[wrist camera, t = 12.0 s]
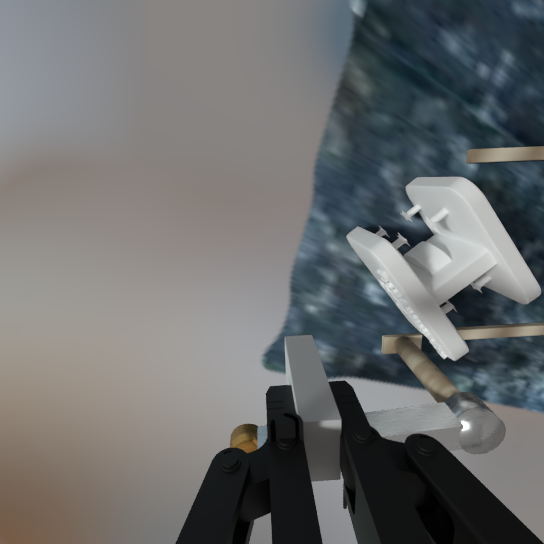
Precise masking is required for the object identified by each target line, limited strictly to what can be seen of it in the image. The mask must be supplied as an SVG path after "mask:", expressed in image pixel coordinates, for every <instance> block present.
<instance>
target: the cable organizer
mask: <svg viewBox="0 0 544 544" xmlns="http://www.w3.org/2000/svg"><path fill="white" fill-rule="evenodd" d="M406 192H407V195H408V197H409V199H410V200H411V202H412V203H413V205H414V207H413V208H411V209H410V210H409V211H407V212H406V213H405V212H404V211H403V210H402V212H403V213H401V214H402V215H403V216H404V217H405V218H406V220H410V221H412V220H411V219H410V217H411V216H413V215H414V214H415V213H416V212H419V214H420V215H421V216H422V218H423V219H424V220H423V221H424V222H425V223H426V224H427V226H428V227H429V228H430V230H431V231H432V233H433V234H434V235H433V236H432V237H431V238H429V239H428V240H427V241H425V242H424V241H422V242H420V243H419V244H418V245H416V246H415V247H414V248H412V249H411V250H410V251H408V252H407V253H406V254H404V257H403V256H402V255H401V253H400V252H399V251H398V250H397V249H398V248H399V247H400V246H401V245H403V244H405V243H406V244H407V245H409V244H408V243H407V239H405V238H403V237H402V236H401V235H400V234H399V233H398V234H399V236H397V235H396V236H397V237H399V238H398V239H397V240H396V241H395V242H393V243H392V244H391V243H390V242H389V241H387V240H386V239H384V238H382V236H383V235H384V236H385V235H387V233H386V231H385V230H383V229H382V228H381V227H380V226H379V227H380V228H378V229H380V230H379V231H378V232H377V233H376V234H374V233H371V232H369V231H367V230H365V229H363V228H361V227H356V228H355V229H354V230H353V231H351V232H350V233H349V234H348V235H347V239H348V241H349V243H350V245H351V246H352V248H353V249H354V251H355V252H356V253H357V254H358V256H359V257H360V258H361V260H362V261H363V262H364V264H365V265H366V266H367V267H368V269H369V270H370V271H371V273H372V274H373V275H374V277H375V278H376V279H377V280H378V282H379V283H380V284H381V286H382V287H383V288H384V290H385V291H386V292H387V293H388V295H389V296H390V297H391V299H392V300H393V301H394V303H395V304H396V305H397V307H398V308H399V309H400V310H401V312H402V313H403V314H404V316H405V317H406V318H407V320H408V321H409V322H410V323H411V324H412V325H413V326H414V327H416V328H417V329H418V330H419V331H420V332H421V333H422V334H424V336H425V337H427V338H428V339H429V340H430V341H429V342H430V343H431V344H432V345H433V347H434V348H435V349H436V350H437V352H438V354H439V355H440V356H441V357H442V358H443V359H445V358H447V357H449V358H450V359H452V360H453V361H456V360H457V359H459V358H460V357H462V356H463V355H465V354H466V353H468V352H469V349H468V346H467V344H466V343H465V341H464V340H463V338H462V337H461V335H460V334H459V333H458V331H457V330H456V328H455V327H454V326H453V324H452V323H451V322H450V320H449V319H448V317H447V316H446V315H445V314H446V313H448V312H449V311H450V310H452V309H454V310H455V308H454V307H455V306H453V305H452V304H451V303H450V302H449V301H448V299H449V298H451V297H452V296H454V295H455V294H456V293H458V292H459V291H461V290H462V289H463V288H465V287H466V286H468V285H469V284H470V285H471V286H472V287H473V289H477V290H478V291H480V292H481V290H480V289H481V287H482V286H485V287H487V288H489V289H491V290H493V291H496V292H498V293H500V294H502V295H504V296H506V297H508V298H510V299H513V300H515V301H517V302H519V303H521V304H528V303H530V302H531V301H532V300H534V299H535V298H537V297H538V296H540V295H541V289H540V286H539V284H538V282H537V281H536V279H535V277H534V276H533V274H532V272H531V271H530V269H529V267H528V266H527V264H526V262H525V261H524V259H523V258H522V256H521V254H520V253H519V251H518V249H517V248H516V246H515V244H514V243H513V241H512V240H511V238H510V236H509V235H508V233H507V231H506V230H505V228H504V226H503V225H502V223H501V221H500V220H499V218H498V217H497V215H496V213H495V212H494V210H493V208H492V207H491V205H490V203H489V202H488V200H487V199H486V197H485V196H484V194H483V193H482V192H481V191H480V189H479V188H478V187H477V186H476V185H474V184H473V183H472V182H471V181H469V180H467V179H465V178H463V177H418V178H416V179H414V180H413V181H412V182H411V183H409V184H408V185H407V186H406ZM387 236H388V235H387ZM388 237H389V236H388ZM389 238H390V237H389ZM409 246H410V245H409ZM473 281H474V283H473ZM481 293H482V292H481ZM444 302H446V303H447V304H446V305H444V306H443V307H441V308H440V306H439V305H441V304H443V303H444ZM455 311H456V310H455ZM456 312H457V311H456ZM457 313H458V312H457Z"/></svg>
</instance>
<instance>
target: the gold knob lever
mask: <svg viewBox="0 0 544 544" xmlns="http://www.w3.org/2000/svg"><path fill="white" fill-rule="evenodd" d="M365 416H366V418H367V420H368V422H369V424H370V426H372V427H373V428H374V429H376V430H377V431H378V432H379V434H380V435H381V437H383V438H386V439H389V440H393V441H398V442H403V443H405V440H406V438H407V437H408V436H410V435H411V434H417V433H420V434H425V435H428V436H431V437H433V438H435V439H436V440H438V441H439V442H440V443H441V444H442V445H443V446H444V447H445V448H446V449H447V450H448V451H452V450H459V449H463V450H465V451H466V452H468V453H471V454H484V453H487V452H489V451H492V450H493V449H495V448H496V447H497V446H498V445H499V444H500V443H501V442H502V441H503V439H504V437H505V432H506V429H505V425H504V423H503V422H502V420H500V418H498V417H497V416H496V415H495V413H494V412H493V411H491V410H490V409H489V408H488V407H487V406H486V405H485V404H484V403H483V402H482V401H481V400H480V399H479V398H478V397H477V396H476V395H474V394H472V393H468V392H462V393H457V394H455V395H453V396H451V397H449V398H448V399H447V400H446V401H445V402H442V403H434V404H427V405H419V406H411V407H404V408H397V409H389V410H382V411H373V412H367V413H365ZM266 439H267V426H260V427H258V426H256V425H254V424H243V425H240V426H238V427H237V428H236V429H234V431H233V432H232V434H231V440H230V448H239V449H243V450H244V451H245V452H246V453H250V452H253V451H255V450H257V449H259V448H260V447H261V446H262V445H263V444H264V443H265V442H266Z"/></svg>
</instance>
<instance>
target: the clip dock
mask: <svg viewBox="0 0 544 544" xmlns="http://www.w3.org/2000/svg"><path fill="white" fill-rule="evenodd" d="M526 160H544V146H541V147H517V148H493V149H471V150H467V159H466V163H479V162H502V161H526ZM456 330H457V331H458V333H459V334H460V335H461V337H462V338H463V340H467V339H483V338H500V337H517V336H534V335H544V322H542V323H524V324H507V325H490V326H473V327H456ZM421 344H422V334H421V333H412V334H395V335H383V336H382V353H383V354H390V353H398V354H399V355H400V357H401V358H402V359H403V360H404V362H405V363H406V364H407V365H408V367H409V368H410V369H411V370H412V372H413V373H414V374H415V375H416V376H417V378H418V379H419V380H420V381H421V383H422V384H423V385H424V386H425V388H426V389H427V390H428V391H429V393H430V394H431V395H432V396H433V397H434V399H435V400H436V401H437V403H442V402H445V401H446V400H447V399H448V398H449V397H451V396H453V395H455V394H457V393H461V392H460V391H459V389H458V388H457V387H456V386H455V385H454V384H453V383H452V382H451V381H450V380H449V379H448V378H447V377H446V376H445V375H444V374H443V373H442V372H441V371H440V370H439V369H438V368H437V366H436V365H435V364H434V363H433V362H432V361H431V360H430V359H429V358H428V357H427V356H426V355H425V354H424V353H423V352H422V351H421Z"/></svg>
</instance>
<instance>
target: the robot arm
mask: <svg viewBox="0 0 544 544" xmlns="http://www.w3.org/2000/svg"><path fill="white" fill-rule="evenodd" d="M285 359H286V381H287V385H282V386H270V388H269V389H268V391H267V393H266V406H267V439H266V442H265V443H264V444H263V445H262V446H261V447H260V448H259V449H257V450H255V451H253V452H250V453H246V452H245V451H244V450H243V449H239V448H227V449H224V450H222V451H221V452H219V453H218V454H216V456H215V457H214V459H213V460H212V462H211V465H210V467H209V469H208V471H207V474H206V476H205V478H204V480H203V483H202V485H201V487H200V489H199V492H198V494H197V496H196V499H195V501H194V503H193V505H192V508H191V510H190V512H189V514H188V517H187V519H186V521H185V523H184V526H183V528H182V530H181V533H180V535H179V537H178V540H177V542H176V544H249V540H250V536H251V532H252V528H253V524H254V520H255V519H257V518H259V517H262V516H264V515H266V514H268V513H271V524H272V544H322V538H321V533H320V527H319V522H318V516H317V511H316V506H315V500H314V494H313V489H312V483H311V481H323V480H338V479H340V473H341V472H342V476H343V479H344V490H343V508H344V509H346V508H347V506H348V510H349V513H350V517H351V520H352V524H353V528H354V531H355V535H356V538H357V542H358V544H544V543H543V542H542V541H540V539H539V538H538V537H536V535H534V534H533V533H532V532H531V531H530V530H529V529H528V528H527V527H526V526H525V525H524V524H523V523H522V522H521V521H520V520H519V519H518V518H517V517H516V516H515V515H514V514H513V513H512V512H511V511H510V510H509V509H508V508H507V507H506V506H505V505H504V504H503V503H502V502H501V501H500V500H498V498H496V496H494V495H493V494H492V493H491V492H490V491H489V490H488V489H487V488H486V487H485V486H484V485H483V484H482V483H481V482H480V481H479V480H478V479H477V478H476V477H475V476H474V475H473V474H472V473H471V472H470V471H469V470H468V469H467V468H466V467H465V466H464V465H463V464H462V463H461V462H460V461H459V460H458V459H457V458H456V457H455V456H453V454H452V453H451V452H449V451H448V450H447V449H446V448H445V447H444V446H443V445H442V444H441V443H440V442H439V441H438V440H436V439H435V438H433V437H431V436H428V435H425V434H420V433H417V434H411V435H410V436H408V437H407V438H406V440H405V443H403V442H398V441H393V440H389V439H386V438H383V437H381V435H380V434H379V432H378V431H377V430H376V429H374V428H373V427H372V426H370V424H369V422H368V420H367V418H366V416H365V413H364V411H363V409H362V407H361V405H360V403H359V401H358V398H357V397H356V394H355V392H354V389H353V388H352V386H351V385H349V384H348V383H347V382H346V381H332V382H328V380H327V377H326V374H325V371H324V369H323V366H322V363H321V360H320V357H319V354H318V351H317V349H316V346H315V343H314V340H313V337H312V335H303V336H287V337H285Z"/></svg>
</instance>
